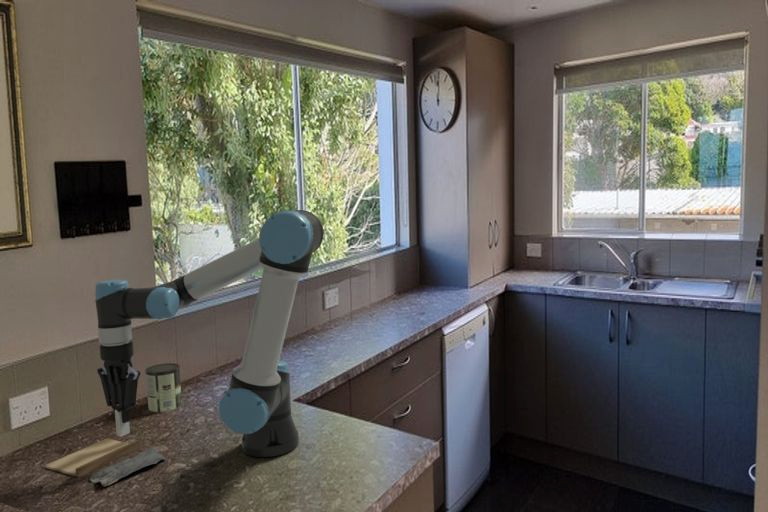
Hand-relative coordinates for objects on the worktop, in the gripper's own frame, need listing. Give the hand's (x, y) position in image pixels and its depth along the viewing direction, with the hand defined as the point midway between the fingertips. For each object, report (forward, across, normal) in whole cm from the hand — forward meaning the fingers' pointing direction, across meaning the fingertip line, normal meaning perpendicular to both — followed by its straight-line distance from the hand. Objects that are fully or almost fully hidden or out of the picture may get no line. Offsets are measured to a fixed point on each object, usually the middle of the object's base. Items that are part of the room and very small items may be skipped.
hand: (123, 434), depth 144 cm
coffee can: (+8, +22, -33) cm, 40 cm away
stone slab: (+8, +2, 0) cm, 8 cm away
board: (+8, +12, 0) cm, 15 cm away
